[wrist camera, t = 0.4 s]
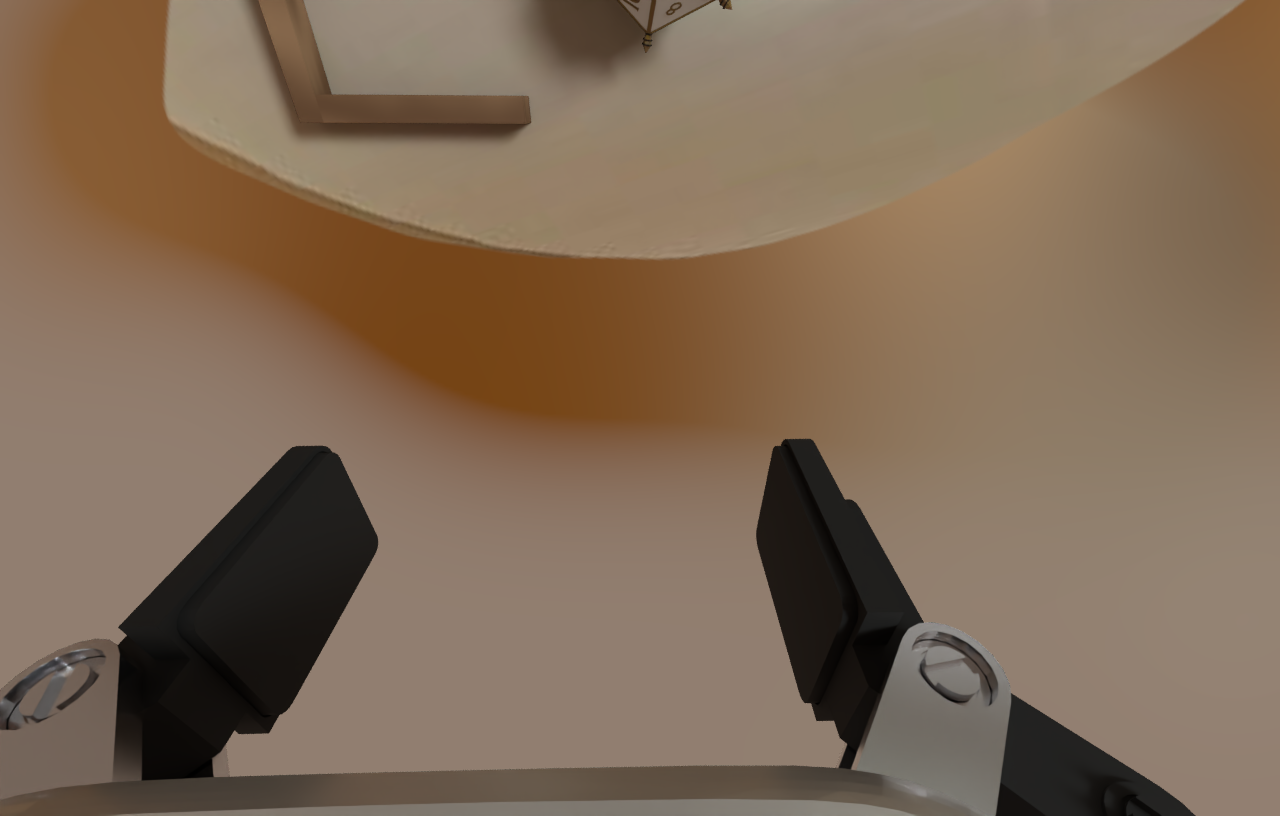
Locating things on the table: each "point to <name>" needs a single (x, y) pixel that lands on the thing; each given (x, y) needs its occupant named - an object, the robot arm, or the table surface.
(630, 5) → the game die
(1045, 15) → the table surface
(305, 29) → the frame
